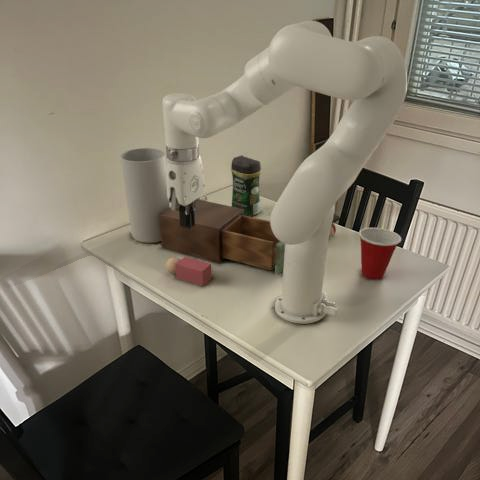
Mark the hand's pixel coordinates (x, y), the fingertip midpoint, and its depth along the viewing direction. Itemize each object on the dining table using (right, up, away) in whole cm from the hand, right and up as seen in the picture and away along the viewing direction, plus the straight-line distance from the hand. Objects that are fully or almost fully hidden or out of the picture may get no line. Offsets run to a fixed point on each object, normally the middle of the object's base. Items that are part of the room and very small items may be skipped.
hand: (187, 225), depth 123 cm
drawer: (+21, -6, +15) cm, 27 cm away
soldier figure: (+1, +13, +44) cm, 46 cm away
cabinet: (+2, -1, +24) cm, 24 cm away
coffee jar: (+15, +13, +44) cm, 48 cm away
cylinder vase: (-14, +3, +30) cm, 33 cm away
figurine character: (+37, 0, +26) cm, 45 cm away
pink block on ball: (-1, -12, +9) cm, 15 cm away
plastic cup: (+50, -11, +10) cm, 52 cm away
